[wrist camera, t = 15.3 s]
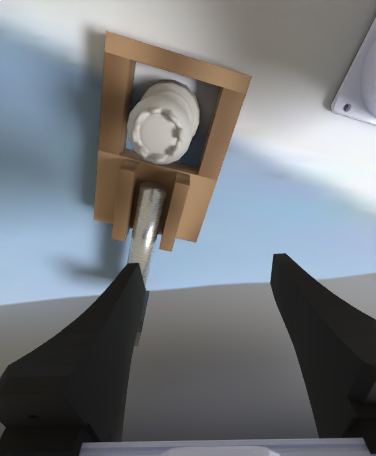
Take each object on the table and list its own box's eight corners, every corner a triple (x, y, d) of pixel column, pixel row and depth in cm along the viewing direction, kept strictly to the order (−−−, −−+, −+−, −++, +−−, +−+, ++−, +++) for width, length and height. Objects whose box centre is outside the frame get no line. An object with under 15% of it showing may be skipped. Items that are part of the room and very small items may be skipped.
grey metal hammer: (174, 187, 19) (170, 217, 15) (146, 304, 26) (137, 346, 22) (136, 178, 19) (120, 205, 15) (117, 299, 25) (103, 340, 21)
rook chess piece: (127, 106, 18) (88, 124, 11) (176, 64, 17) (165, 55, 10) (165, 156, 20) (150, 197, 13) (211, 122, 19) (222, 148, 12)
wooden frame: (245, 76, 17) (259, 76, 13) (195, 230, 24) (196, 257, 20) (115, 36, 16) (92, 23, 12) (101, 209, 23) (83, 233, 19)
